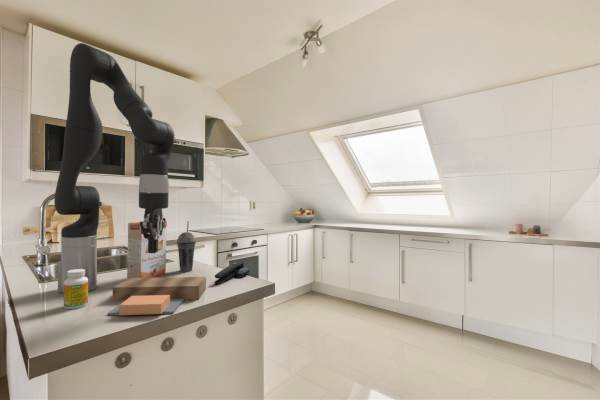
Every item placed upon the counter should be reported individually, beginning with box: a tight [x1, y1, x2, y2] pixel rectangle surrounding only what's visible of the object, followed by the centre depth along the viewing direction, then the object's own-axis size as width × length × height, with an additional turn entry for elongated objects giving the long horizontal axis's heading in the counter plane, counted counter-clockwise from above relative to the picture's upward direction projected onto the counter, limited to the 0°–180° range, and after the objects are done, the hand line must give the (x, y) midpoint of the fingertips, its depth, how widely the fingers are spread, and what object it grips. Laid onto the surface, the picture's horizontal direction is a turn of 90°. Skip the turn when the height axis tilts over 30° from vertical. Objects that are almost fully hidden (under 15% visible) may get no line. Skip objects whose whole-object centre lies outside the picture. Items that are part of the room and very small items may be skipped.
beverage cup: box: [176, 220, 196, 273], centre depth 122 cm, size 7×7×20 cm
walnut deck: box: [112, 276, 207, 302], centre depth 93 cm, size 24×10×4 cm, turn 96°
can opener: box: [213, 260, 251, 286], centre depth 111 cm, size 18×7×6 cm, turn 156°
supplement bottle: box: [63, 269, 89, 310], centre depth 83 cm, size 5×5×10 cm
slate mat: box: [107, 298, 185, 316], centre depth 82 cm, size 16×10×1 cm, turn 96°
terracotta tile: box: [118, 295, 170, 316], centre depth 79 cm, size 10×7×2 cm
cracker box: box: [126, 220, 168, 279], centre depth 111 cm, size 14×6×21 cm, turn 168°
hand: (153, 252), depth 85 cm, fingers closed
